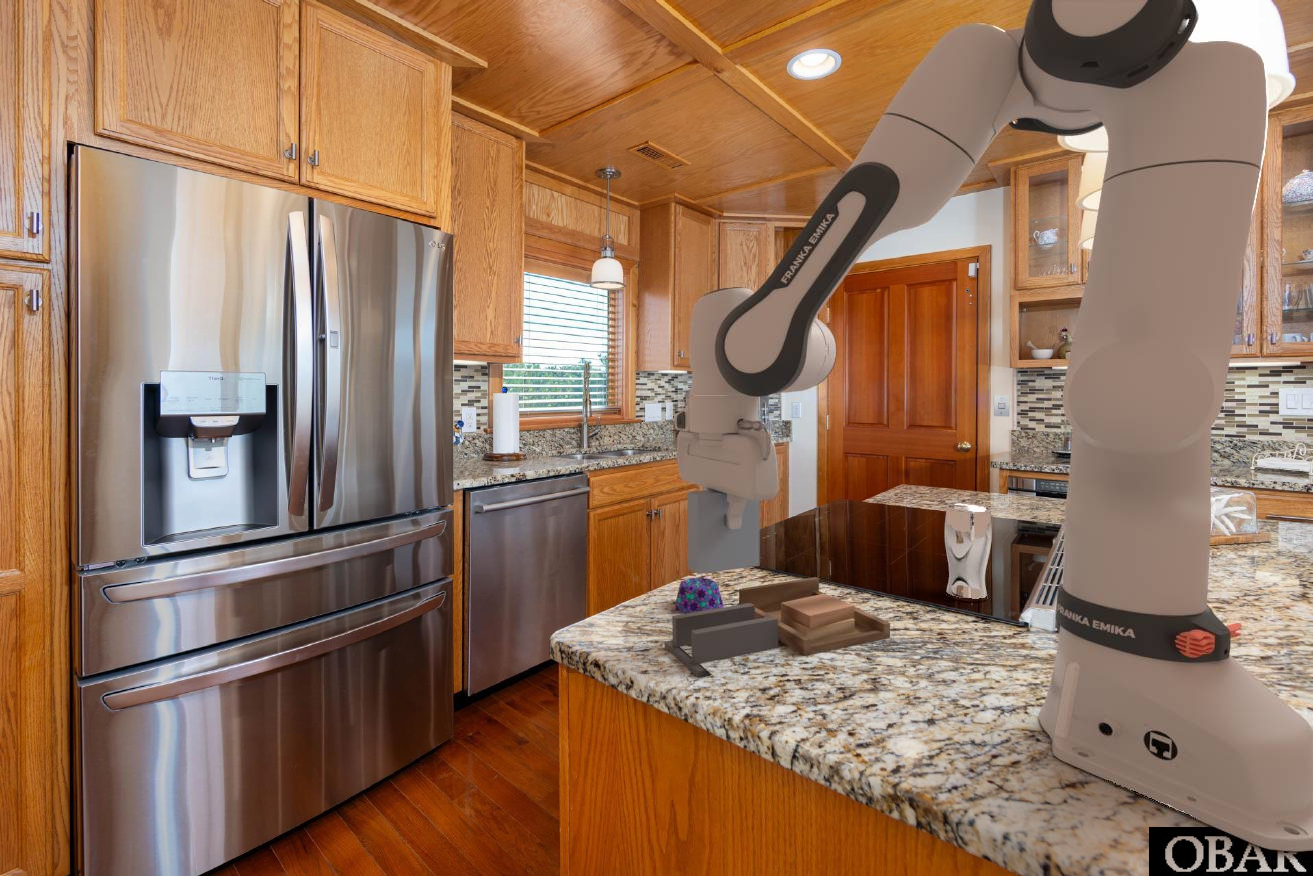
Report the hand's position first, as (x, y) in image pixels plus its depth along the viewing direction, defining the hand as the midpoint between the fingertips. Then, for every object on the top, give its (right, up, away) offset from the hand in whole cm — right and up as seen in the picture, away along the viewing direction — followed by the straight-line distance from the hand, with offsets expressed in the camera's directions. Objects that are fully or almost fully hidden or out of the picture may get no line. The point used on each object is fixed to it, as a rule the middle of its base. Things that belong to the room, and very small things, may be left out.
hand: (723, 524), depth 81 cm
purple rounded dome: (-2, -17, +16) cm, 23 cm away
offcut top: (+14, -14, +6) cm, 20 cm away
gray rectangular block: (0, -6, 0) cm, 6 cm away
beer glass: (+43, -15, +23) cm, 51 cm away
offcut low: (+14, -16, +6) cm, 22 cm away
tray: (+13, -17, +8) cm, 23 cm away
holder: (0, -17, +1) cm, 17 cm away
